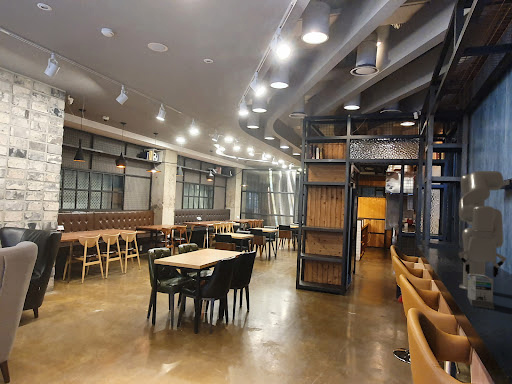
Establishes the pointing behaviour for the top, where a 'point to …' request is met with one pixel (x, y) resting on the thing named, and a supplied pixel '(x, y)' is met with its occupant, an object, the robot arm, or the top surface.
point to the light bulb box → (480, 287)
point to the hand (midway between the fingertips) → (481, 274)
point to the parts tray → (482, 304)
